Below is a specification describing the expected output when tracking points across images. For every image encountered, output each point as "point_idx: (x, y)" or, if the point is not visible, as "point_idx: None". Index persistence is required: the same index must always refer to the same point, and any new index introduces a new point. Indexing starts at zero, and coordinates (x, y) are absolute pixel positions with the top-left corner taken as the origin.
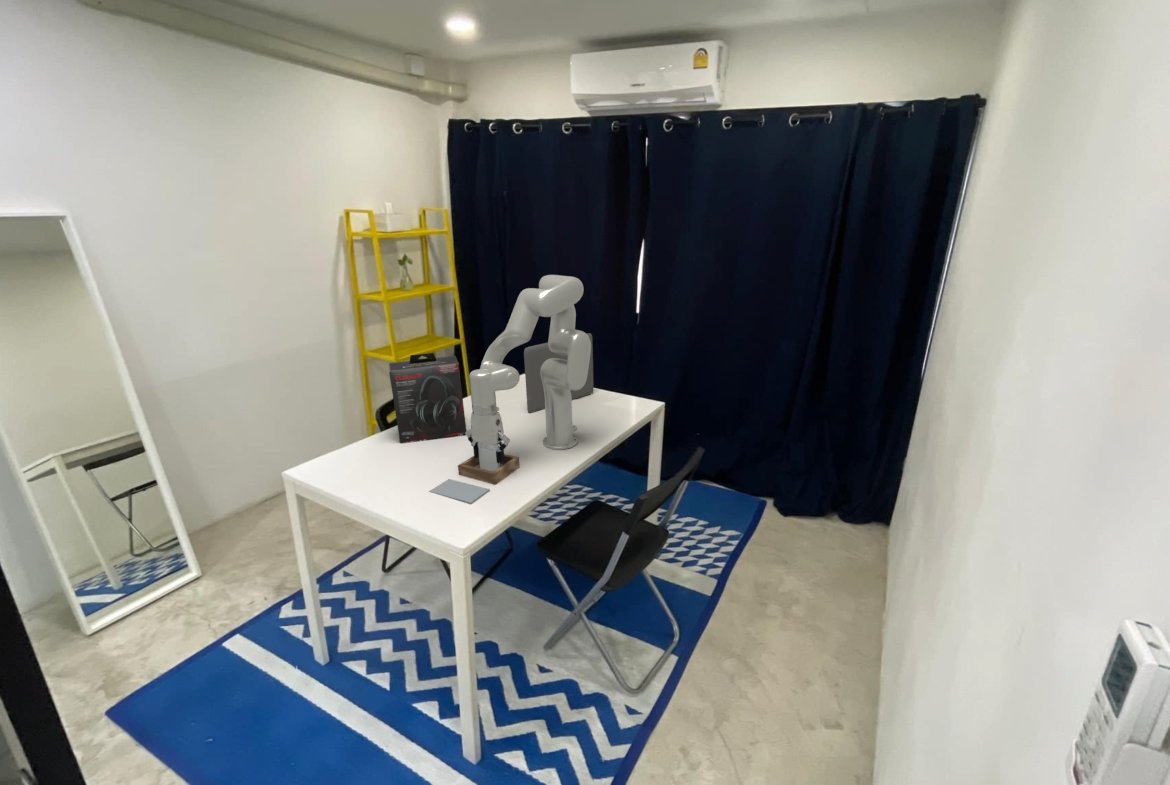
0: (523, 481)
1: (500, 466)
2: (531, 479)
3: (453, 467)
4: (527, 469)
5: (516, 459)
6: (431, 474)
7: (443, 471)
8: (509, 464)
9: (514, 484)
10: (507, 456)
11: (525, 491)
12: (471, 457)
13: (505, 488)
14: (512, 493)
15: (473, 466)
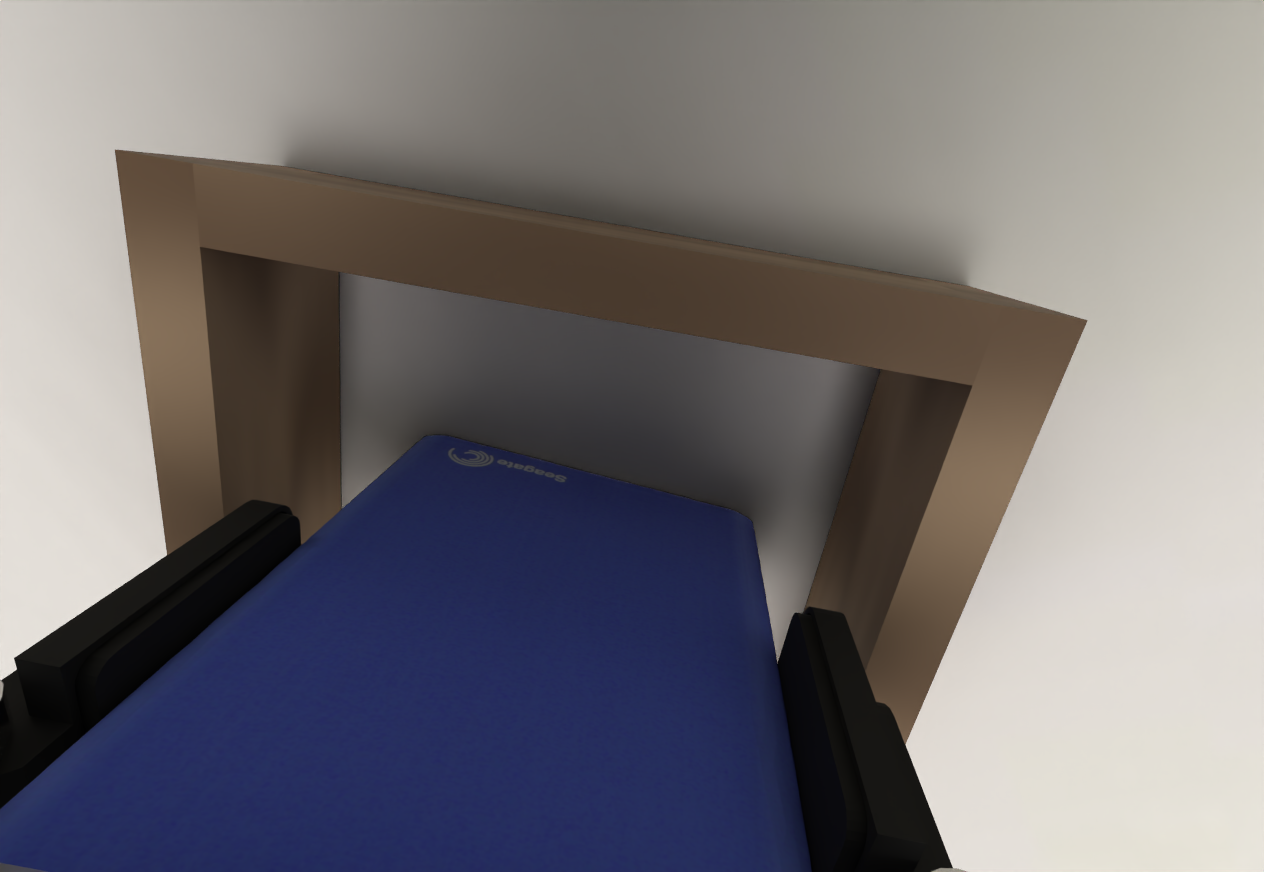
0: (1123, 634)
1: (764, 594)
2: (1234, 569)
3: (66, 483)
4: (1113, 289)
5: (1039, 413)
6: (8, 672)
7: (55, 594)
8: (949, 621)
9: (1018, 713)
10: (800, 347)
11: (1194, 819)
12: (172, 539)
13: (936, 797)
14: (1048, 866)
15: (312, 514)
